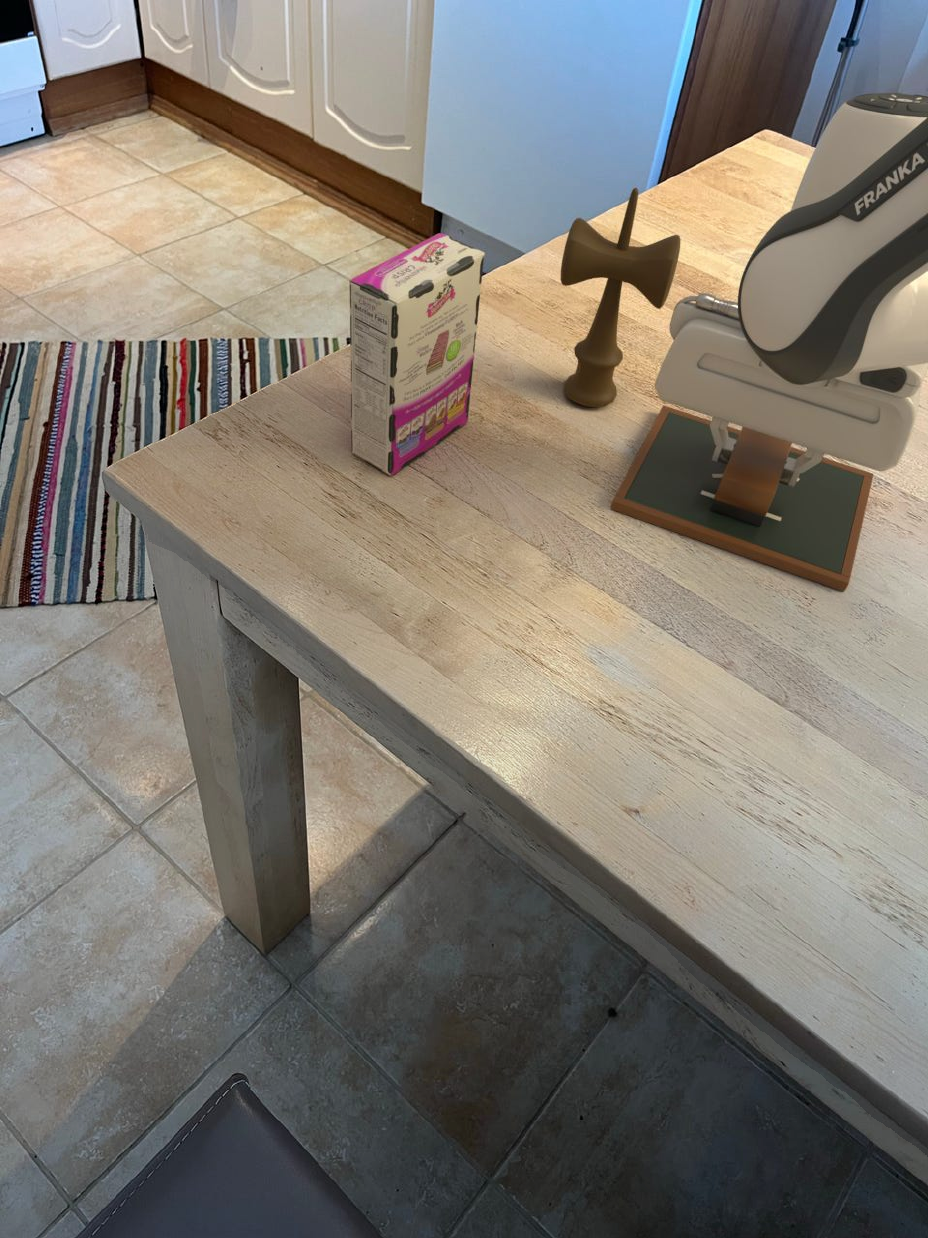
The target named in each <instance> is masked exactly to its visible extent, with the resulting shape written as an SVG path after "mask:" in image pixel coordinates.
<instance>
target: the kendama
mask: <svg viewBox="0 0 928 1238" xmlns="http://www.w3.org/2000/svg"><path fill="white" fill-rule="evenodd" d="M638 200H639V188H638V187H634V188H633V189H632V190H631V192H630V195H629V198H628V202H627V205H626V209H625V213H624V217H623V221H622V224H621V229H620V232H619V236H618V240H617V242H614V241H612V240H609V239H607V238H606V237H604V236H603V235H602V234H601V233H599V232H598V231H597V230H596V229H595V228H594V227H593V226H592V225H590V224H589V223H588V221H586V220H585V219H583V218H581V217H576V218H575V219H574V220H573V222H572V223H571V226H570V228H569V230H568V231H569V232H568V235H567V238H566V241H565V244H564V250H563V254H562V260H561V265H560V266H561V267H560V282H561V285H562V286H565V287H568V286H569V287H570V286H573V285H577V284H580V283H582V282H586V281H589V280H593V279H607V280H606V283H605V286H604V290H603V293H602V296H601V299H600V301H599V305H598V308H597V310H596V313H595V316H594V318H593V320H592V324H591V326H590V329H589V330H588V333H587V335H586V337H585V338H584V339H583V340H580V341H579V342H577V343H576V345H575V346H574V356H575V358H576V360H577V364H576V369H575V372H574V373H573V374H571V375H569V376H568V377H567V379H566V380H565V381H564V383H563V392H564V393H565V395H566V397H567V398H568V399H570V400H571V401H573V402H574V403H575V404H578V405H581V406H584V407H591V408H601V407H606V406H608V405H610V404H612V403H614V401H615V400H616V398H617V396H618V391H617V390H618V388H617V386H616V384H615V383H614V373H615V369H616V367H618V366H619V365H620V364H621V362H622V361H623V360H624V353H623V351H622V350H621V348H620V347H619V346H618V341H617V339H618V337H617V336H618V323H619V311H620V304H621V303H620V302H621V297H622V296H621V295H622V287H623V283H626V284H629V285H631V286H633V287H634V288H635V289H637V291H639V292H640V294H642V295H643V297H644V298H645V299H646V300H647V301H648V302H649V303H650V304H651V305H652V306H653V307H654V308H655V309H658V310H661V309H662V308H663V307H664V305H665V303H666V302H667V299H668V296H669V294H670V292H671V288H672V284H673V281H674V277H675V274H676V270H677V266H678V262H679V256H680V252H681V241H682V239H681V237H680V235H679V234H673V235H670V236H668V237H664V238H662V239H661V240H658V241H656V242H654V243H650V244H648V245H642V246H631V245H630V243H631V237H632V232H633V226H634V222H635V216H636V211H637V206H638Z"/></svg>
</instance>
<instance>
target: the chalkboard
mask: <svg viewBox="0 0 928 1238" xmlns="http://www.w3.org/2000/svg"><path fill="white" fill-rule="evenodd" d="M661 407H662V408H661V409H660V410H659V413H658V414H657V417H656V418H655V420H654V422H653V424H652V426H651V428H650V429H649V431H648V433H647V435H646V437H645V439H644V441H643V442H642V444H641V446H640V448H639V450H638V452H637V454H636V456H635V458H634V460H633V461H632V463H631V465H630V467H629V469H628V471H627V473H626V475H625V476H624V479H622V482H621V484H620V485H619V487H618V490H617V491H616V493H615V496H614V497H613V499H612V502H611V505H610V510H612V511H616V512H618V513H620V514H623V515H626V516H630V517H631V518H635V519H636V520H637V519H638V520H641V521H642V522H646V523H648V524H651V525H653V526H657V527H659V528H663V529H666V530H668V531H670V532H674V533H676V534H680V535H682V536H684V537H685V536H686V537H688V538H691V539H693V540H697V541H700V542H703V543H705V544H708V545H710V546H713V547H716V548H719V549H722V550H724V551H728V552H730V553H733V554H736V555H738V556H741V557H745V558H747V559H750V560H754V561H756V562H758V563H761V564H763V565H768V566H769V567H771V568H776V569H779V570H782V571H784V572H787V573H789V574H793V575H795V576H798V577H801V578H804V579H806V580H809V581H812V582H815V583H818V584H821V585H823V586H826V587H829V588H832V589H835V590H838V591H840V592H846V590H847V588H848V586H849V584H850V580H851V576H852V573H853V567H854V562H855V559H856V554H857V550H858V545H859V541H860V537H861V532H862V528H863V523H864V518H865V514H866V511H867V505H868V501H869V496H870V492H871V488H872V483H873V478H874V473H872V472H869V471H866V470H863V469H860V468H857V467H854V466H851V465H847V464H845V463H842V462H838V461H835V460H833V459H829V458H827V457H824V456H823V458H822V460H821V462H820V463H818V464H817V465H815V466H813V467H812V468H810V469H808V470H807V471H805V472H803V473H802V474H801V473H800V475H799V477H798V479H797V481H796V483H795V486H794V487H790V486H787V485H784V484H782V483H779V484H778V487H777V490H776V493H775V495H774V498H773V500H772V502H771V505H770V507H769V509H768V511H767V514H766V516H765V518H764V521H763V523H762V525H761V527H759V526H756V525H753V524H750V523H747V522H744V521H742V520H739V519H736V518H733V517H730V516H727V515H724V514H721V513H718V512H715V511H712V510H710V508H711V505H712V503H713V500H714V497H715V495H716V492H717V489H718V487H719V484H720V481H721V479H722V476H723V474H724V471H725V469H726V466H727V465H725V464H721V463H718V462H716V461H713V460H712V457H713V454H714V451H715V449H716V446H717V445H715V442H714V439H713V435H712V432H711V429H710V424H711V421H712V420H710V419H707V418H704V417H700V416H698V415H695V414H691V413H688V412H686V411H682V410H679V409H677V408H673V407H670V406H666V405H662V406H661ZM727 431H728V436H729V437H730V438H733V439H736V440H737V439H738V437H739V434H740V432H741V430H740V429H737V428H734V427H731V426H729V425H728V426H727ZM805 452H806V450H802V449H798V448H795V447H792V446H791V448H790V451H789V454H788V457H790V458H794V459H797V458H798V457H800V456H801V455H803V454H804V453H805Z"/></svg>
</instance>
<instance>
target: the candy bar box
mask: <svg viewBox="0 0 928 1238" xmlns="http://www.w3.org/2000/svg"><path fill="white" fill-rule="evenodd" d="M485 254H486V253H485V252H484V251H482V250H480V249H478V248H475V247H473V246H470V245H469V244H467V243H464V242H463V241H460V240H457V239H454V238H453V237H452V236H450V235H447V234H444V233H441V232H439V233H437V234H434V235H432V236H431V237H428V238H427V239H425V240H423V241H421V242H420V243H419V242H418V243H417V244H416V245H413V246H412V247H410V248H408V249H406V250H404V251H402V252H400V253H398V254H396V255H395V256H393V257H391V258H388V259H387V260H385V261H383V262H381V263H379V264H378V265H376V266H373V267H372V268H370V269H368V270H366V271H364V272H362V273H360V274H358V275H356V276H354V277H351V279H349V283H348V284H349V346H350V347H349V348H350V349H349V350H350V353H349V354H350V358H349V359H350V441H351V444H350V446H351V447H350V448H351V449H350V450H351V454H352V455H354V456H355V457H357V458H358V459H360V460H361V461H363V462H365V463H368V464H369V465H370V466H372V467H375V468H376V469H378V470H379V471H380V472H383V473H384V474H386V475H388V476H390V477H392V476H394V475H396V474H397V473H398V472H400V471H401V470H402V469H404V468H405V467H407V466H408V465H410V464H411V463H412V462H413V461H415V460H416V459H418V458H419V457H420V456H422V455H423V454H424V453H426V452H427V451H428V450H430V449H432V448H433V447H434V446H436V445H437V444H438V443H439V442H440V441H441V442H442V440H444V439H445V438H446V437H448V436H449V435H450V434H452V433H453V432H455V431H456V430H458V429H459V428H460V427H462V426H463V425H464V424H466V423H468V421H469V411H470V401H471V393H472V380H473V370H474V359H475V349H476V340H477V339H476V338H477V331H478V320H479V311H480V299H481V291H482V280H483V271H484V270H483V269H484V260H485V259H484V258H485Z"/></svg>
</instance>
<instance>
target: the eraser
mask: <svg viewBox="0 0 928 1238" xmlns="http://www.w3.org/2000/svg"><path fill="white" fill-rule="evenodd" d="M792 444H793V443H791V442H788V441H785V440H782V439H779V438H776V437H773V436H769V435H766V434H763V433H760V432H757V431H754V430H751V429H748V428H745V427H742V426H741V432H740V434H739V437H738V439H737V442H736V444H735V447H734V449H733V452H732V454H731V456H730V459H729V461H728V464H727V466H726V469H725V471H724V474H723V476H722V479H721V481H720V484H719V487H718V489H717V492H716V495H715V497H714V500H713V503H712V505H711V508H710V510H712V511H715V512H718V513H721V514H724V515H727V516H730V517H733V518H736V519H739V520H742V521H744V522H747V523H750V524H753V525H756V526H759V527H761V525H762V523H763V521H764V518H765V516H766V514H767V511H768V509H769V507H770V505H771V502H772V500H773V498H774V495H775V493H776V490H777V487H778V484H779V481H780V478H781V475H782V472H783V469H784V466H785V463H786V460H787V457H788V454H789V451H790V448H791V447H792Z"/></svg>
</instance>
